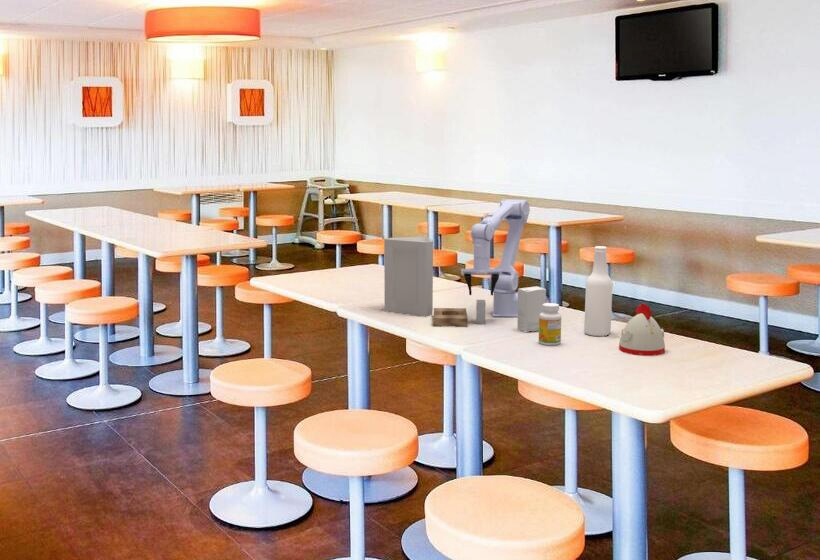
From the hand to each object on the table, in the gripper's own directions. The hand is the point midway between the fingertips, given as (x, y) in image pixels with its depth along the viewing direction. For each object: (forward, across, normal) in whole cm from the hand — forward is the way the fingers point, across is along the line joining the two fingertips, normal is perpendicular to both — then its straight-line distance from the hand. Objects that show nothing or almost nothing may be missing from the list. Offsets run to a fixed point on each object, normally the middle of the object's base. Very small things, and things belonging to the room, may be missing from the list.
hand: (481, 294), depth 310 cm
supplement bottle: (+10, +21, -30) cm, 38 cm away
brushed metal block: (+10, 0, 0) cm, 10 cm away
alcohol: (+10, +39, -16) cm, 43 cm away
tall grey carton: (+10, -24, +20) cm, 33 cm away
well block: (+10, -11, +2) cm, 15 cm away
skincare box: (+10, +17, -11) cm, 23 cm away
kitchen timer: (+11, +49, -38) cm, 63 cm away
